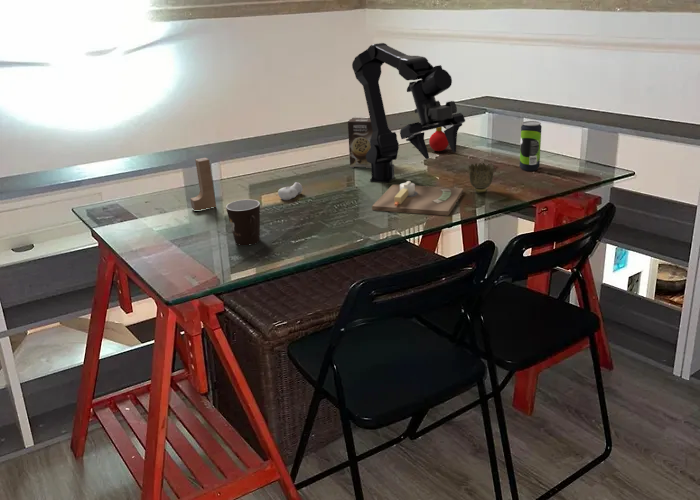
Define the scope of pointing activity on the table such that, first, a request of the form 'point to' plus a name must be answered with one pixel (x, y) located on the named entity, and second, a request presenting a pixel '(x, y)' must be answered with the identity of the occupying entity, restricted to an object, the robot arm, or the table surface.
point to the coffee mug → (245, 221)
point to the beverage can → (530, 145)
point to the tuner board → (420, 200)
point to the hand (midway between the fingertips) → (441, 155)
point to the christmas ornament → (438, 140)
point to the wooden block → (204, 186)
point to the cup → (481, 176)
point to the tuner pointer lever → (404, 192)
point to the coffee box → (359, 141)
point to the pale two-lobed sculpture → (290, 191)
